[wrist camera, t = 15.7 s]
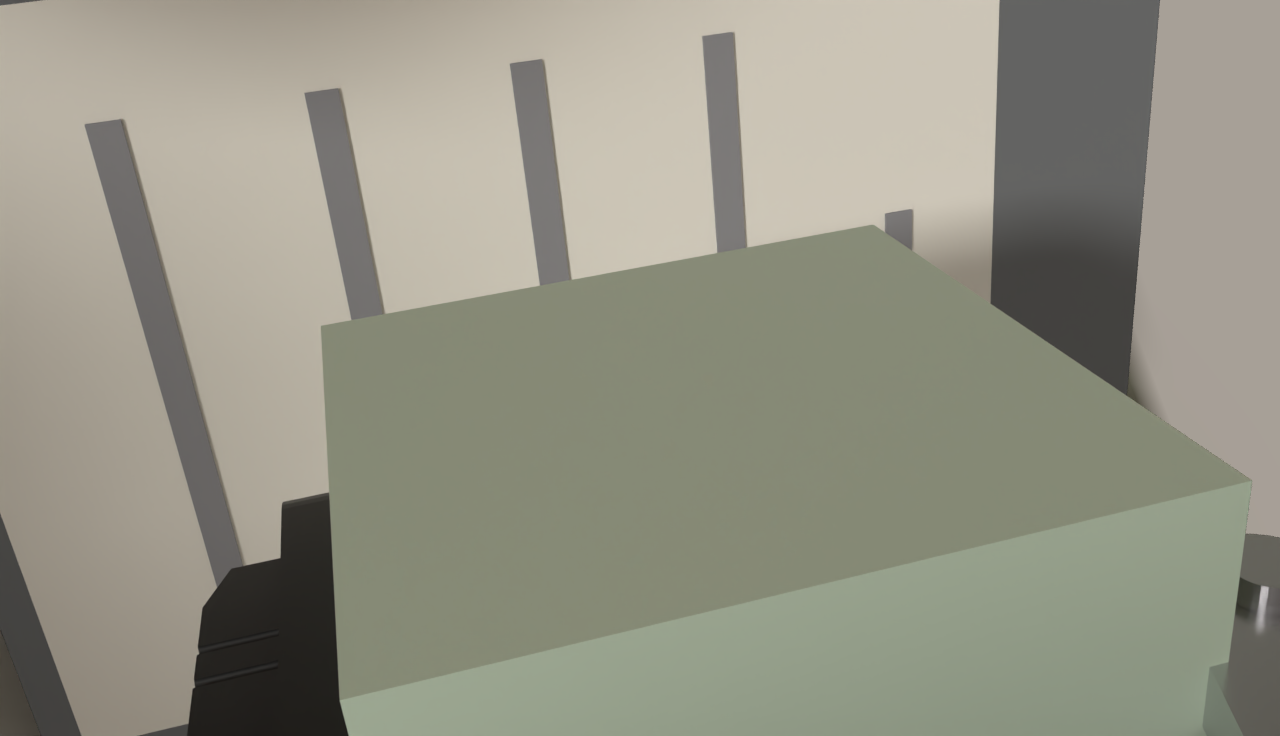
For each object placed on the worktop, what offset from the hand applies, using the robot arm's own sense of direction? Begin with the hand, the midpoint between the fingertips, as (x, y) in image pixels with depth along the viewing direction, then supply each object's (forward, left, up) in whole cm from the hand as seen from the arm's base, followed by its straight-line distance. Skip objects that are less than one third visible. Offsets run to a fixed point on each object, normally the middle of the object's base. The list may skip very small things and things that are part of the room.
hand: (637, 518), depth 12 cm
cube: (0, 0, 0) cm, 0 cm away
